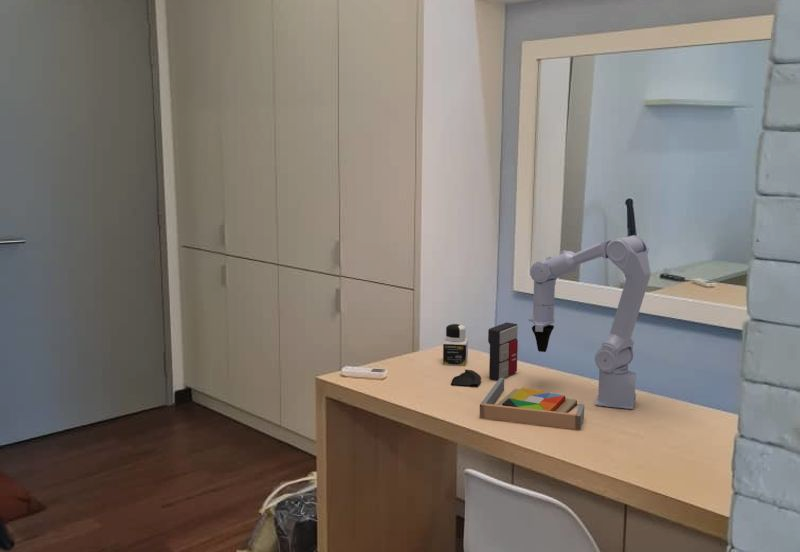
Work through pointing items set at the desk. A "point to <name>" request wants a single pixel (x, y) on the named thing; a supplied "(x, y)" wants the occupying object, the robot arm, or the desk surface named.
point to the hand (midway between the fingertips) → (542, 351)
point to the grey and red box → (503, 350)
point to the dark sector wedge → (467, 379)
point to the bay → (527, 412)
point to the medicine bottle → (455, 346)
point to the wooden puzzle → (538, 400)
